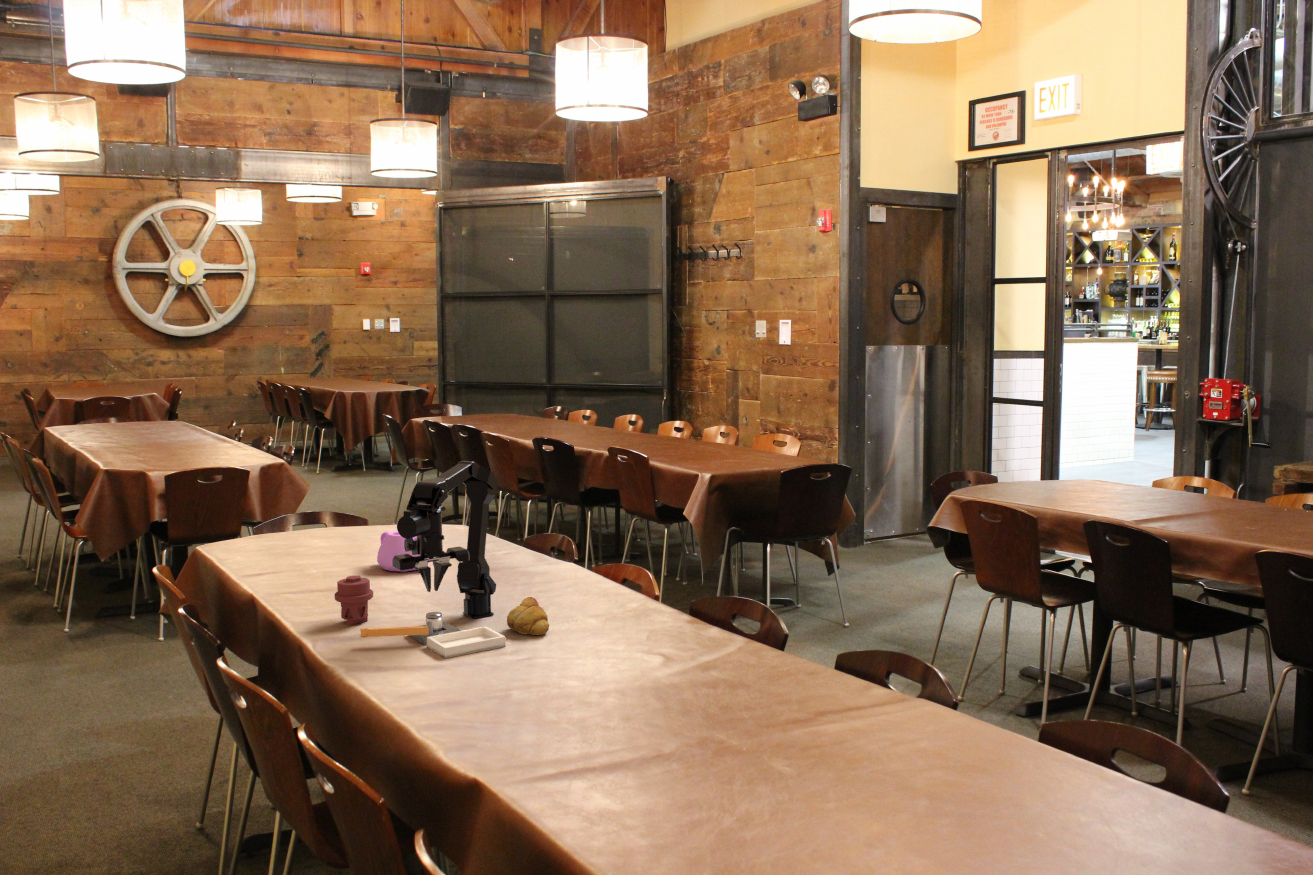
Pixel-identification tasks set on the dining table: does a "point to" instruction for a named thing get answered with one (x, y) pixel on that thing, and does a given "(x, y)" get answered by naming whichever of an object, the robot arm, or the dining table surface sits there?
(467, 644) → the tray
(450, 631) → the hitch block
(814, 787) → the dining table surface
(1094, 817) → the dining table surface
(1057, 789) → the dining table surface
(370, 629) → the bar
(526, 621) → the bread roll
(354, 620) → the mechanical component
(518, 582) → the dining table surface
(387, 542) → the teapot
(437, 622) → the salt shaker
